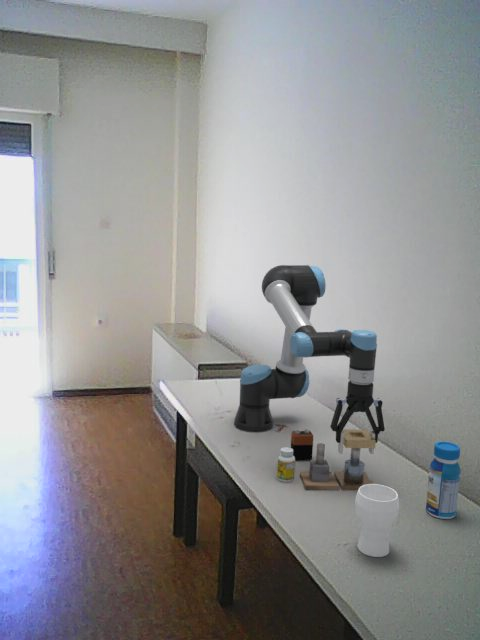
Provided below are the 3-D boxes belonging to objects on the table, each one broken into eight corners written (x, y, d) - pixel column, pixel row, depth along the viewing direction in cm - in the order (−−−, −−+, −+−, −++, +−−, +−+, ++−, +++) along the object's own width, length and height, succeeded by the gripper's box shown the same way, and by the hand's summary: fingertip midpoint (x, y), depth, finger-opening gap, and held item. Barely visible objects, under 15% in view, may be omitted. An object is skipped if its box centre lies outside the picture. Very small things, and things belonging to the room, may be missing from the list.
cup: (346, 537, 152) (350, 482, 150) (387, 537, 153) (391, 482, 151) (358, 561, 142) (363, 502, 139) (401, 560, 143) (406, 502, 140)
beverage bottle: (452, 523, 162) (460, 454, 158) (421, 514, 166) (428, 446, 163) (459, 511, 169) (466, 444, 165) (429, 502, 173) (435, 437, 170)
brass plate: (338, 436, 186) (339, 429, 186) (366, 437, 187) (367, 429, 186) (345, 448, 177) (346, 440, 177) (375, 448, 178) (375, 440, 178)
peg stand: (333, 476, 189) (336, 438, 187) (364, 476, 190) (367, 438, 188) (341, 490, 179) (344, 451, 177) (373, 490, 180) (377, 451, 178)
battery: (312, 460, 200) (314, 432, 198) (292, 461, 199) (294, 432, 198) (309, 455, 204) (310, 428, 203) (289, 455, 204) (291, 428, 202)
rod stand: (299, 475, 188) (301, 438, 186) (330, 475, 189) (333, 438, 187) (305, 490, 178) (307, 450, 176) (338, 490, 179) (341, 451, 177)
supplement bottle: (297, 481, 184) (298, 451, 183) (281, 483, 182) (283, 453, 180) (288, 474, 189) (290, 445, 187) (273, 476, 187) (275, 447, 185)
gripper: (328, 384, 174) (323, 457, 178) (400, 385, 176) (394, 457, 180) (322, 377, 182) (318, 447, 185) (391, 378, 183) (386, 447, 187)
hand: (355, 452), depth 183 cm, fingers closed on brass plate, 9 cm apart
